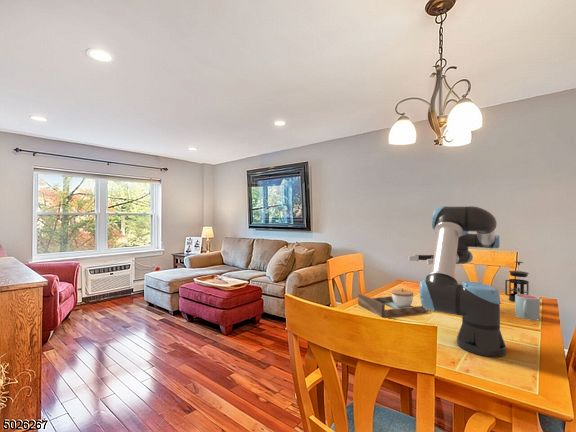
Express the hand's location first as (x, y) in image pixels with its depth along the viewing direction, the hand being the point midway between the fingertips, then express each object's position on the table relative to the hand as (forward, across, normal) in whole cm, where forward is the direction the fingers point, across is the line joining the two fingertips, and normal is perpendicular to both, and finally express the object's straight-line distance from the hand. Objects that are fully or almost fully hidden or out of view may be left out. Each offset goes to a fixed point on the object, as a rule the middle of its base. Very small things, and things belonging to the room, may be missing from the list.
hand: (417, 260), depth 159 cm
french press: (-63, -10, -26) cm, 69 cm away
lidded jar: (+10, +1, -24) cm, 26 cm away
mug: (-36, -32, -26) cm, 54 cm away
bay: (+18, +1, -25) cm, 30 cm away
